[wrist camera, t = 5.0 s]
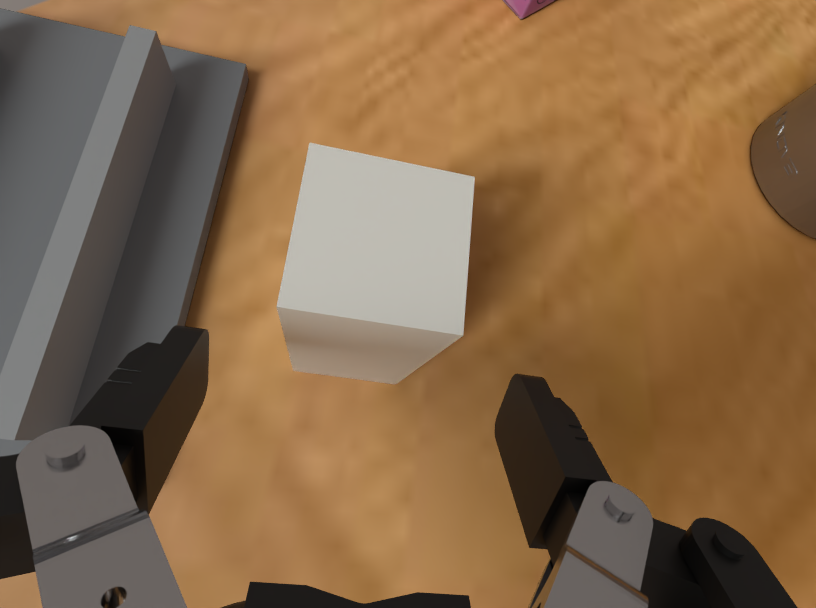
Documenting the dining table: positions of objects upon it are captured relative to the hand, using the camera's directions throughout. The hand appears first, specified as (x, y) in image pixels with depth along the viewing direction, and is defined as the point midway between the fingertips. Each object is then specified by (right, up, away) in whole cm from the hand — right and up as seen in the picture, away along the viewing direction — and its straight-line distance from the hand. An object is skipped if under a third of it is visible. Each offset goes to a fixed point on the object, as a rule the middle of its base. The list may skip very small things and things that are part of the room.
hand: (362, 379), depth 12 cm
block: (-1, +1, +9) cm, 9 cm away
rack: (-15, +5, +7) cm, 17 cm away
